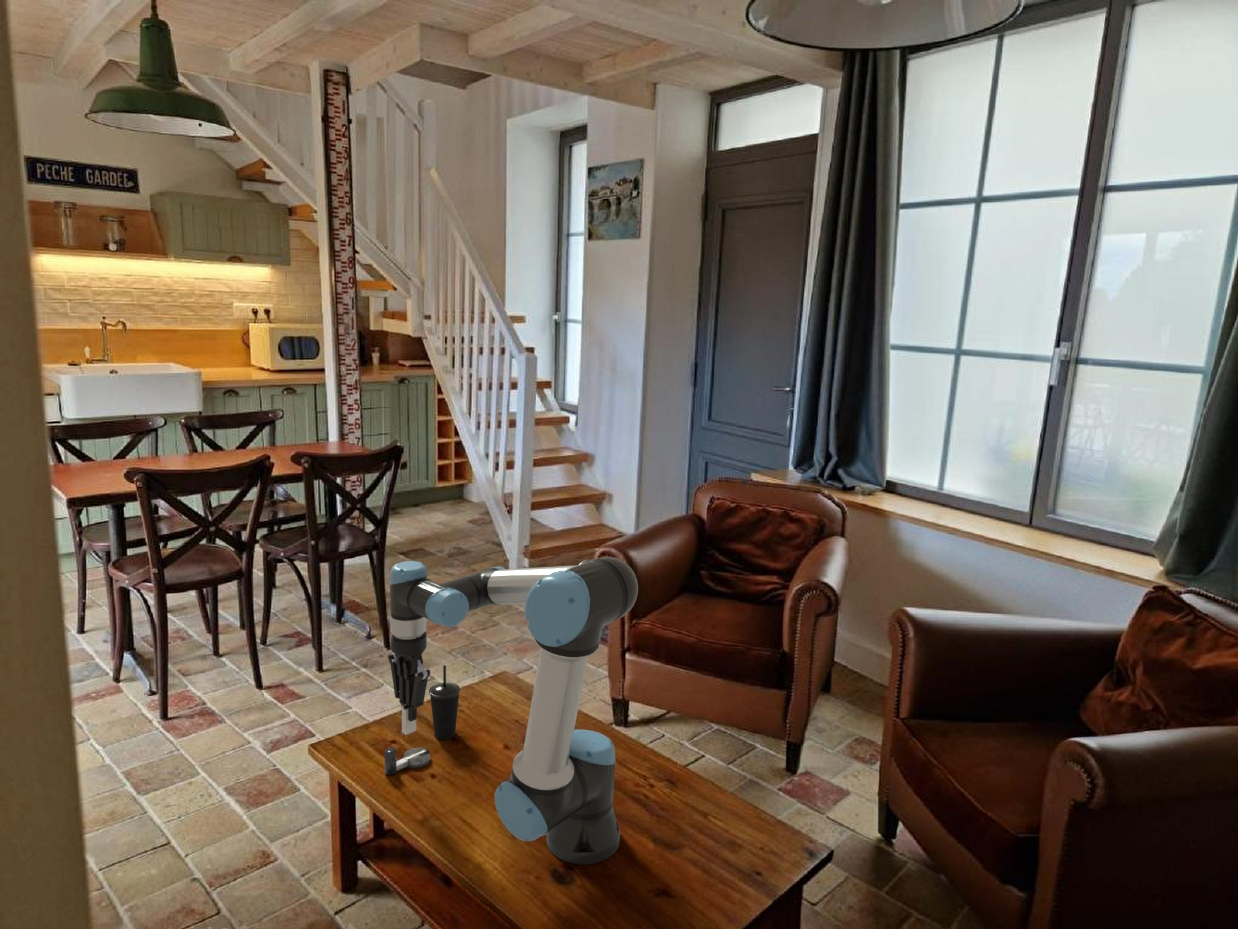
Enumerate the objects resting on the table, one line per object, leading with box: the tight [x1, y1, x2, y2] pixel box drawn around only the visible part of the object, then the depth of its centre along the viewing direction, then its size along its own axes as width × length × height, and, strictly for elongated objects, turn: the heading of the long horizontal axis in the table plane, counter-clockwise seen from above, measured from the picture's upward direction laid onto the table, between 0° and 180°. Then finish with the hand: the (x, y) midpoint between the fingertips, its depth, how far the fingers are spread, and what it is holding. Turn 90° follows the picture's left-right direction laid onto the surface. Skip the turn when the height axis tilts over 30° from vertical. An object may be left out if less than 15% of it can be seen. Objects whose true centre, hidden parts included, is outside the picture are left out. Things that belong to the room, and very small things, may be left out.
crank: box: [383, 747, 431, 776], centre depth 184 cm, size 11×6×6 cm, turn 138°
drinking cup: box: [428, 664, 461, 741], centre depth 197 cm, size 8×8×20 cm
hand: (409, 731), depth 176 cm, fingers closed
